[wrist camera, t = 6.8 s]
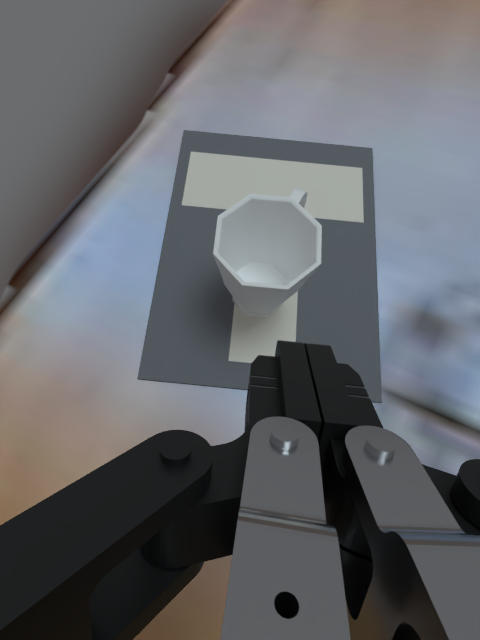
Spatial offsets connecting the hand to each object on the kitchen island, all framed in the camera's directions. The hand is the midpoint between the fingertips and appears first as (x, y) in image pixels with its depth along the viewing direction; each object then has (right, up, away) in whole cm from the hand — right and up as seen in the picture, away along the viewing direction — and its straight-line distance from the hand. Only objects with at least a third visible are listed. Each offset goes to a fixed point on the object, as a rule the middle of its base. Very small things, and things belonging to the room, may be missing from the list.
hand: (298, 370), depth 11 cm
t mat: (+1, +7, +21) cm, 22 cm away
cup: (0, +5, +20) cm, 21 cm away
